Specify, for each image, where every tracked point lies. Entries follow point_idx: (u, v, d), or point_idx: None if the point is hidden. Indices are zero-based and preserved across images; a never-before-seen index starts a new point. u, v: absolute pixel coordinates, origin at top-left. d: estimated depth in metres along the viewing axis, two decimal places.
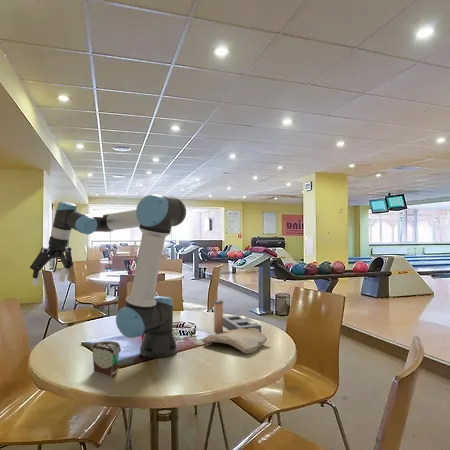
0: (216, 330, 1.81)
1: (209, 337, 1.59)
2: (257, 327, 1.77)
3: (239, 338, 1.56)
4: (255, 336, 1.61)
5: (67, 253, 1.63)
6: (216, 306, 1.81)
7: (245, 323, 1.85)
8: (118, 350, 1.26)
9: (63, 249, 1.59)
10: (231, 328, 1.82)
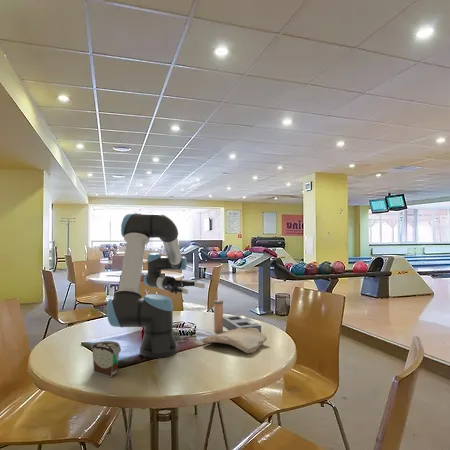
0: (216, 330, 1.81)
1: (209, 337, 1.58)
2: (257, 327, 1.77)
3: (240, 338, 1.56)
4: (255, 336, 1.61)
5: None
6: (216, 306, 1.81)
7: (245, 323, 1.85)
8: (118, 350, 1.26)
9: None
10: (231, 328, 1.82)
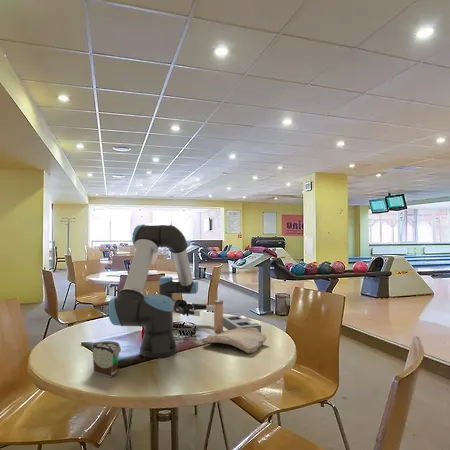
0: (216, 330, 1.81)
1: (209, 338, 1.58)
2: (257, 327, 1.77)
3: (240, 338, 1.56)
4: (255, 335, 1.61)
5: None
6: (216, 306, 1.81)
7: (245, 323, 1.85)
8: (118, 350, 1.26)
9: None
10: (231, 328, 1.82)
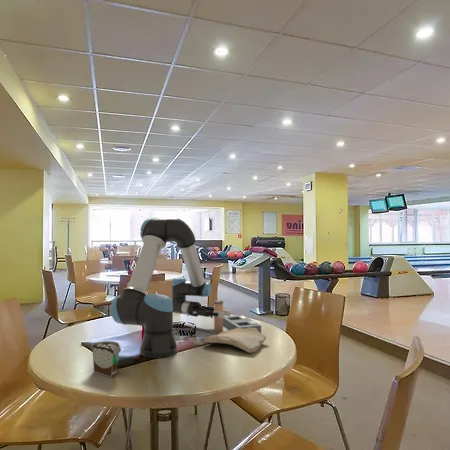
0: (216, 330, 1.81)
1: (209, 338, 1.57)
2: (257, 327, 1.77)
3: (240, 338, 1.56)
4: (255, 335, 1.62)
5: (210, 308, 1.92)
6: (216, 306, 1.81)
7: (245, 323, 1.85)
8: (118, 350, 1.26)
9: None
10: (231, 328, 1.82)
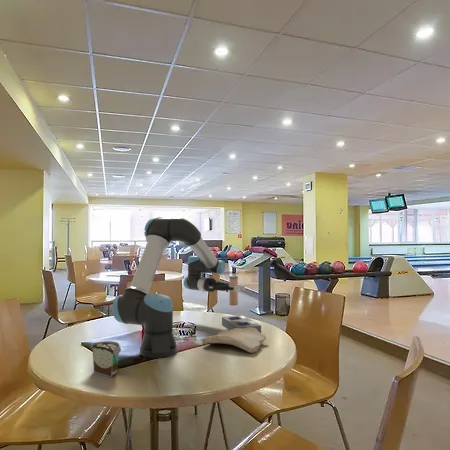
0: (231, 303, 1.91)
1: (209, 338, 1.57)
2: (257, 327, 1.77)
3: (241, 338, 1.56)
4: (254, 335, 1.62)
5: (225, 284, 2.02)
6: (231, 281, 1.91)
7: (245, 323, 1.85)
8: (118, 350, 1.26)
9: None
10: (231, 328, 1.82)
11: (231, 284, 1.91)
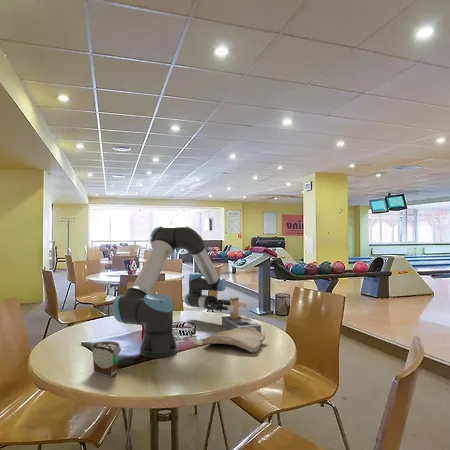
0: None
1: (210, 339, 1.56)
2: (257, 327, 1.77)
3: (241, 338, 1.56)
4: (254, 335, 1.63)
5: None
6: (232, 302, 1.91)
7: (245, 323, 1.85)
8: (118, 350, 1.26)
9: None
10: (231, 328, 1.82)
11: None
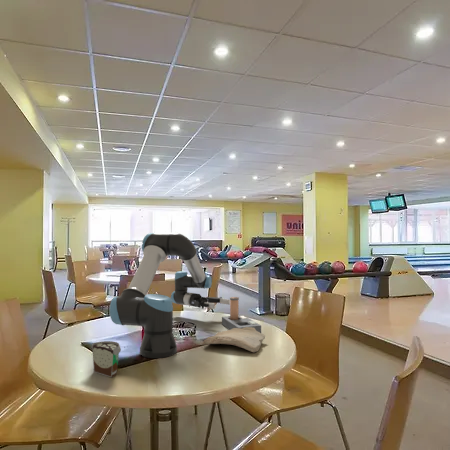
0: None
1: (210, 339, 1.56)
2: (257, 327, 1.77)
3: (241, 338, 1.56)
4: (254, 335, 1.63)
5: None
6: (232, 302, 1.91)
7: (245, 323, 1.85)
8: (118, 350, 1.26)
9: None
10: (231, 328, 1.82)
11: (232, 306, 1.91)
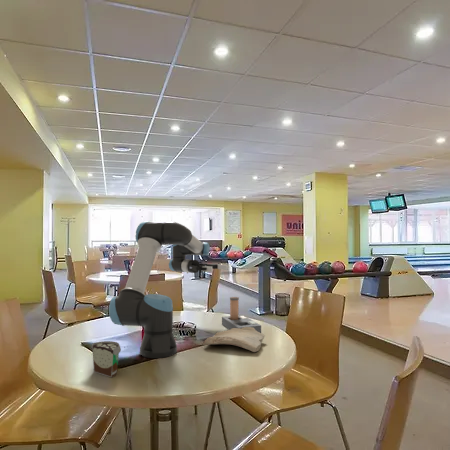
0: None
1: (210, 340, 1.55)
2: (257, 327, 1.77)
3: (242, 338, 1.56)
4: (253, 334, 1.63)
5: None
6: (232, 302, 1.91)
7: (245, 323, 1.85)
8: (118, 350, 1.26)
9: None
10: (231, 328, 1.82)
11: (232, 306, 1.91)
